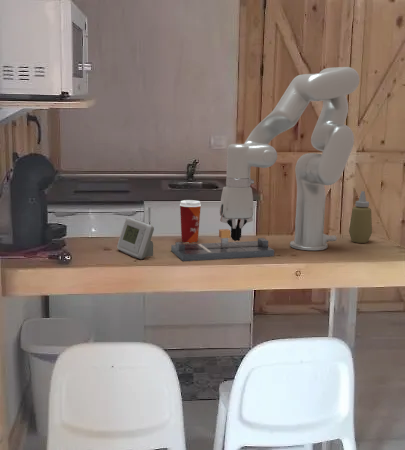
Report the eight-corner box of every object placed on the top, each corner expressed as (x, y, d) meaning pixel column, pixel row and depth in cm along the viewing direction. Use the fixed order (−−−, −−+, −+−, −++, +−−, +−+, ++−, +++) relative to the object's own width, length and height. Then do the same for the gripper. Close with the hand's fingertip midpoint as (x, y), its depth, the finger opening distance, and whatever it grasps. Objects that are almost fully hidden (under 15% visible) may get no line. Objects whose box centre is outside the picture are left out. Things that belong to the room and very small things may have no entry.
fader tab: (227, 245, 213) (227, 229, 212) (230, 246, 211) (230, 230, 210) (218, 245, 212) (219, 229, 211) (221, 247, 210) (221, 230, 209)
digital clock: (115, 249, 214) (115, 217, 212) (142, 248, 218) (142, 216, 216) (129, 261, 200) (129, 226, 198) (158, 259, 203) (158, 225, 201)
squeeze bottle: (373, 244, 230) (377, 193, 227) (350, 243, 230) (353, 192, 227) (368, 239, 238) (371, 190, 235) (346, 239, 238) (349, 189, 235)
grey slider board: (257, 246, 223) (257, 235, 222) (273, 256, 210) (274, 243, 209) (171, 250, 214) (171, 238, 213) (182, 261, 201) (183, 248, 200)
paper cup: (198, 244, 225) (199, 203, 222) (176, 242, 226) (176, 202, 223) (202, 239, 232) (203, 200, 229) (181, 238, 234) (182, 199, 231)
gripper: (255, 181, 215) (253, 236, 218) (211, 182, 210) (210, 238, 214) (264, 184, 208) (261, 241, 211) (219, 185, 203) (217, 243, 207)
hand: (235, 239), depth 212 cm, fingers closed
